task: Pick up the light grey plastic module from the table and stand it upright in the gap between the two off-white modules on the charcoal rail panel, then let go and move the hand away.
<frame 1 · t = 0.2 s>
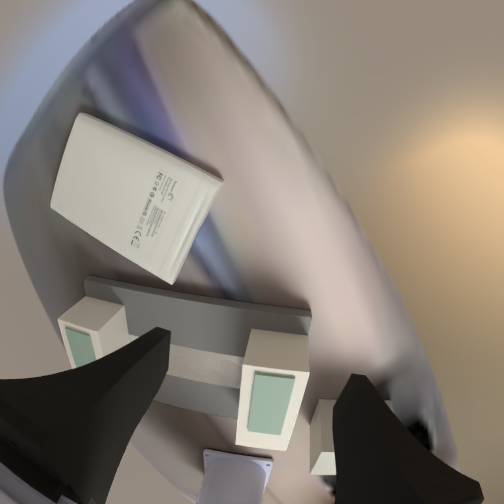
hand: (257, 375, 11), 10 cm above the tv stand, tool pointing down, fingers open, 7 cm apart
external hard drive: (130, 191, 20), on the tv stand
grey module: (350, 413, 23), on the tv stand
rail panel: (189, 356, 23), on the tv stand
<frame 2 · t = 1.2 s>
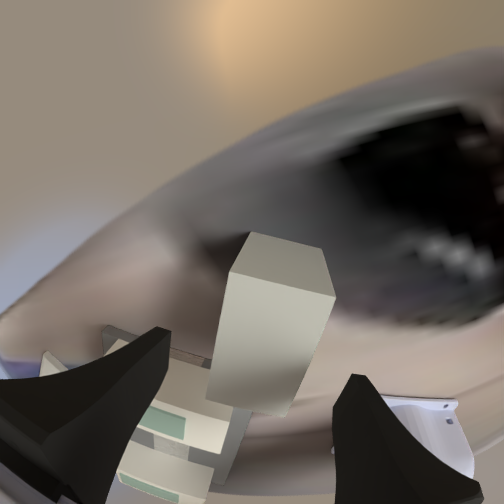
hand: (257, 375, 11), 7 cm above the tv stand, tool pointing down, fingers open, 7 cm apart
external hard drive: (71, 397, 26), on the tv stand
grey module: (271, 295, 17), on the tv stand
rail panel: (175, 422, 22), on the tv stand
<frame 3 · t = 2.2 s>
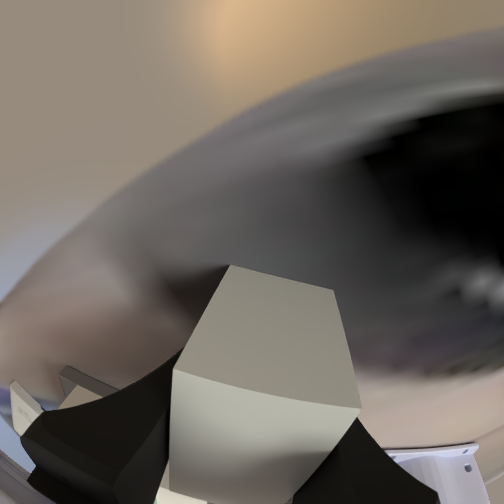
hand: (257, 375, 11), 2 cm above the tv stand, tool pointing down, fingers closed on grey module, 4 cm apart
external hard drive: (47, 426, 20), on the tv stand
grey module: (261, 350, 12), on the tv stand, touching gripper
rail panel: (154, 467, 17), on the tv stand
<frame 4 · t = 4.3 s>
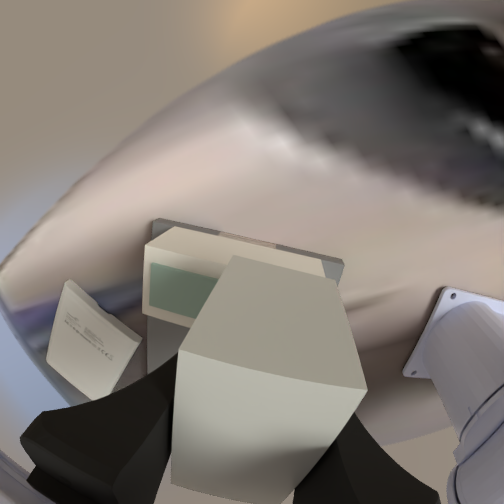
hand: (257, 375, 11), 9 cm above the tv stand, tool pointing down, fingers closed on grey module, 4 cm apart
external hard drive: (91, 345, 24), on the tv stand
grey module: (263, 341, 12), point 7 cm above the tv stand, touching gripper
rail panel: (225, 351, 21), on the tv stand
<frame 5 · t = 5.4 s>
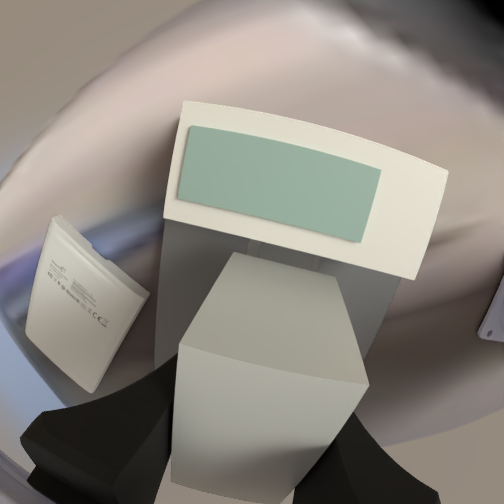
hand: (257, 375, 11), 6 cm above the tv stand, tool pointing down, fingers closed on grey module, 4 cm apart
external hard drive: (81, 310, 19), on the tv stand
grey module: (264, 339, 12), point 4 cm above the tv stand, touching gripper
rail panel: (269, 307, 16), on the tv stand
when the fingers open (4 cm above the tv stand, at t = 6.2 s): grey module stays where it is, resting on rail panel.
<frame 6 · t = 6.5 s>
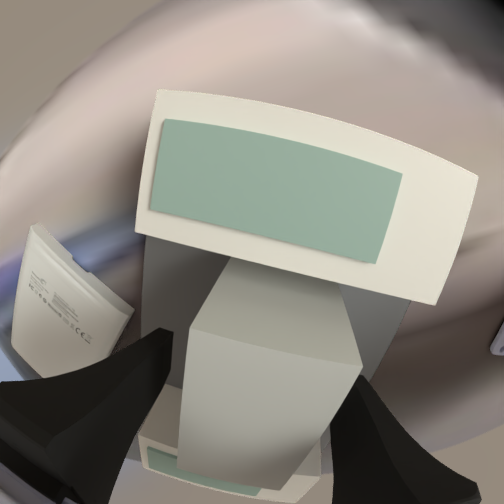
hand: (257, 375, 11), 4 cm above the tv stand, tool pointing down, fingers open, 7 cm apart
external hard drive: (65, 323, 17), on the tv stand
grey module: (265, 330, 13), point 1 cm above the tv stand, touching rail panel
rail panel: (265, 326, 14), on the tv stand
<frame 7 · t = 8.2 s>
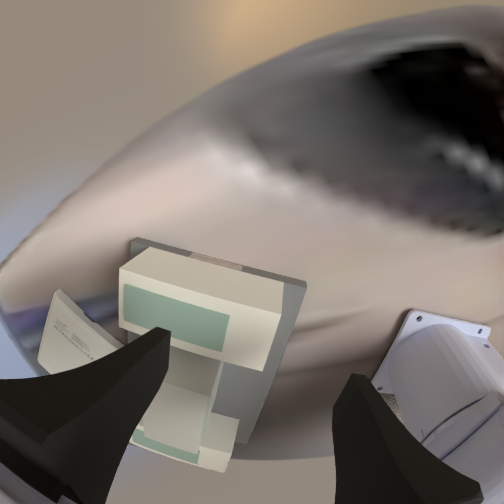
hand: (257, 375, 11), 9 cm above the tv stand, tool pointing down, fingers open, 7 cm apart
external hard drive: (79, 348, 26), on the tv stand
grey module: (196, 364, 21), point 1 cm above the tv stand, touching rail panel
rail panel: (199, 360, 22), on the tv stand
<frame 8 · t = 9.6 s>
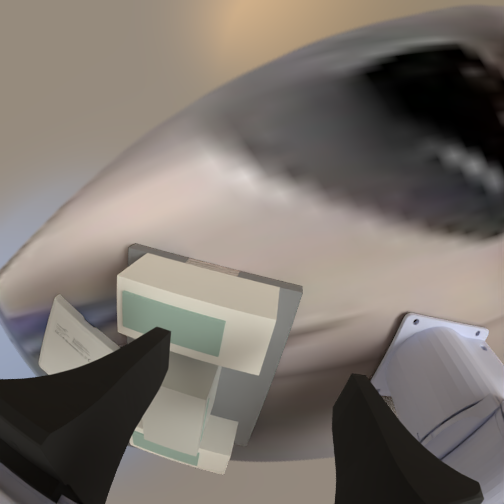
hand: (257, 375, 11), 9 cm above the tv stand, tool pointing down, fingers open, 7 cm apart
external hard drive: (79, 352, 26), on the tv stand
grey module: (195, 367, 22), point 1 cm above the tv stand, touching rail panel
rail panel: (198, 363, 23), on the tv stand
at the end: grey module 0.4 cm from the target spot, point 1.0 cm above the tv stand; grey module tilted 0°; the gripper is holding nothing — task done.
